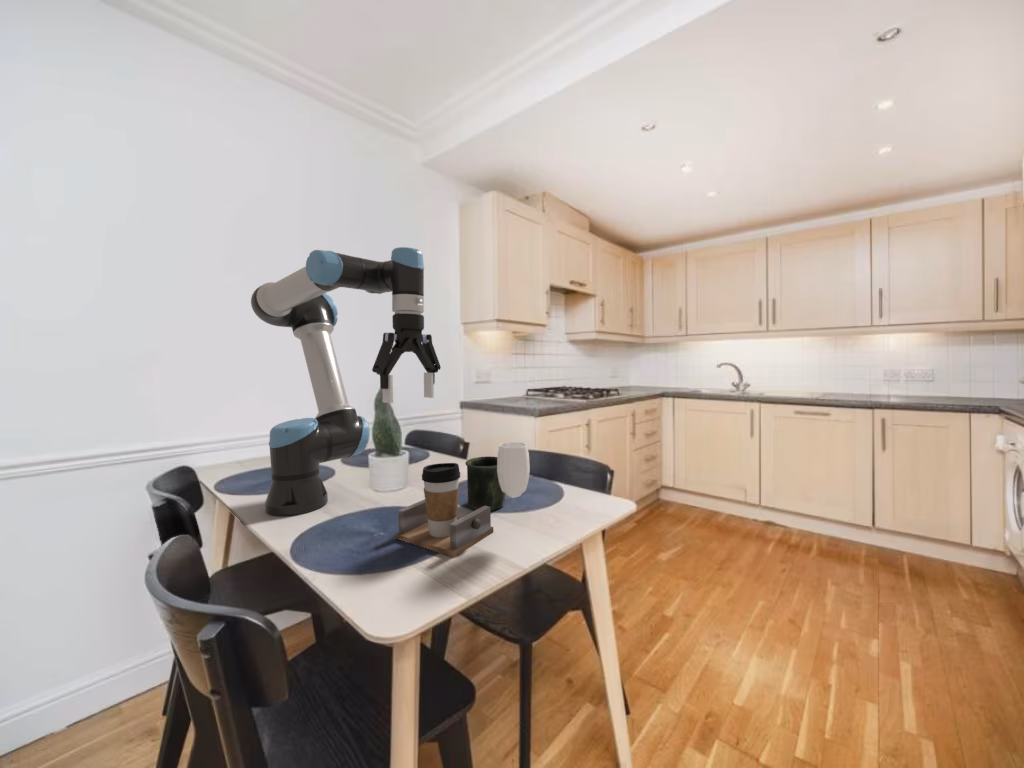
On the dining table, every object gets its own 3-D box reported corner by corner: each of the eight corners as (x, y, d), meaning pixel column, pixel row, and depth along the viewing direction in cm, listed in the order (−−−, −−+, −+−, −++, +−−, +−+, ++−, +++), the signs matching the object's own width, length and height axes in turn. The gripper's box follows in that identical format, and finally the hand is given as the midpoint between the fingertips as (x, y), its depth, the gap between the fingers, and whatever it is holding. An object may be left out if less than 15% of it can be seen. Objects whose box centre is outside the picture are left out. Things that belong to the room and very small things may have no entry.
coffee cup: (454, 541, 87) (452, 471, 86) (417, 538, 89) (414, 469, 88) (466, 525, 95) (465, 461, 94) (432, 523, 97) (430, 460, 96)
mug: (461, 511, 107) (460, 466, 106) (474, 493, 122) (473, 453, 121) (503, 513, 106) (502, 467, 105) (511, 494, 120) (510, 453, 119)
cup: (534, 543, 88) (532, 447, 87) (500, 546, 87) (498, 449, 86) (527, 529, 96) (526, 440, 94) (496, 532, 94) (494, 442, 93)
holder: (392, 538, 92) (391, 511, 92) (435, 517, 104) (435, 493, 103) (457, 558, 82) (456, 528, 82) (497, 533, 94) (496, 506, 94)
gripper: (377, 308, 89) (378, 406, 91) (453, 316, 110) (453, 396, 112) (354, 310, 93) (357, 403, 95) (432, 317, 114) (433, 394, 116)
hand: (409, 400), depth 103 cm, fingers open, 13 cm apart
